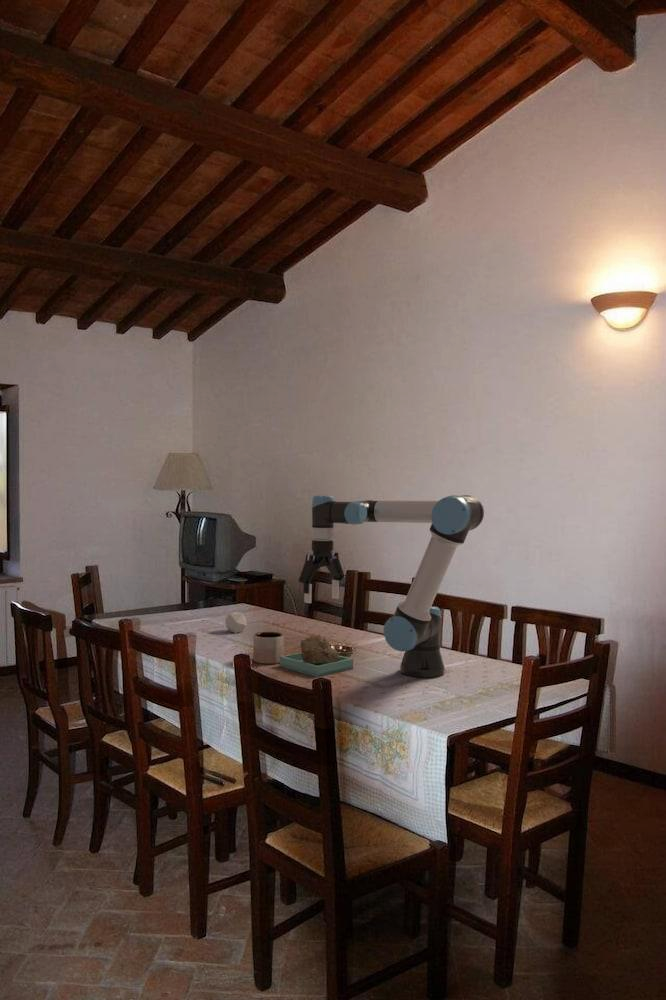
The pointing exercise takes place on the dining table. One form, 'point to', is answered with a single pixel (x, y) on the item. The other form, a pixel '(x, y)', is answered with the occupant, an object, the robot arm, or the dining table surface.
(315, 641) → the rock
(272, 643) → the planter
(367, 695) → the dining table surface
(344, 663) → the glazed dish
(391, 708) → the dining table surface
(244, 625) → the die
